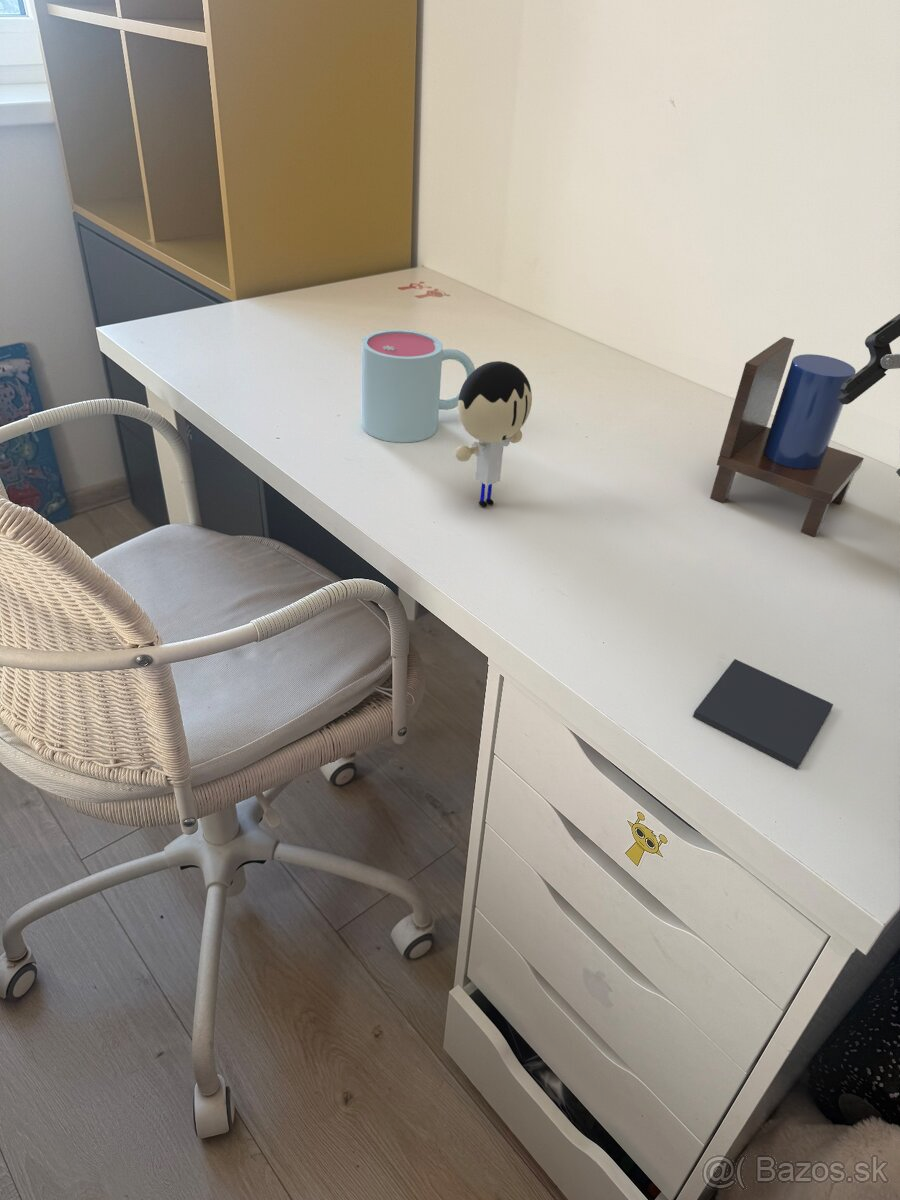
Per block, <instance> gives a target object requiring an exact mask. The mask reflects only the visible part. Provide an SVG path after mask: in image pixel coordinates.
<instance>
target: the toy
mask: <svg viewBox="0 0 900 1200" xmlns="http://www.w3.org/2000/svg"><path fill="white" fill-rule="evenodd" d="M531 387H532V386H531V384H530V382H529V379H528V377H527V376H526V374H525V373H524V372H523V371H522V370H521V369H520V368H519V367H517V366H516V365H514V364H513V363H510V362H507V361H501V360H499V361H489V362H486V363H484V364H482V365H480V366H478V367H477V368H475V370H474V371H473V372H472V373H471V374H470V375H469V376H468V378H467V377H466V379H465V380H464V382H463V383H462V386H461V388H460V391H459V393H460V394H459V393H458V394H459V398H458V406H457V411H458V412H457V413H458V418H459V421H460V423H461V425H462V426H463V428H464V430H465V431H466V432H467V433H468V434H469V435H470V436H471V437H472V438H473V439H476V440H478V441H473V443H471V447H469V446H467V445H464V444H463V445H459V446H458V447H457V448H456V449H455V458H456V459H457V460H458V461H459V462H463V463H464V462H468V461H469V460H470V459H471V457H472V455H474V456H476V468H475V480H476V481H477V482H479V483H481V486H480V498H479V501H478V504H479V506H480V507H482V508H486V507H488V505H489V506H493V505H494V500H493V499H492V490H493V484H495V483H498V482H500V481H501V472H502V464H503V456H504V455H503V454H504V447H508V446H509V445H510V443H512V444H517V443H519V442H520V441H521V440H522V438H523V432H522V430H521V428H522V427H523V426H524V425H525V424H526V422H527V420H528V417H529V415H530V412H531V410H532V403H533V392H532V388H531ZM486 487H487V493H486ZM485 494H486V499H485Z"/></svg>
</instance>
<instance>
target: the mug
mask: <svg viewBox="0 0 900 1200" xmlns="http://www.w3.org/2000/svg"><path fill="white" fill-rule="evenodd" d="M443 347H444V345H443V342H442V341H441V340H439V339H438V338H437V337H435V336H433V335H431V334H428V333H425V332H421V331H416V330H409V329H384V330H378V331H374V332H371V333H369V334H367V335H365V336H364V337H363V338H362V339H361V428H362V429H363V431H364V432H365V433H366V434H367V435H369V436H371V437H373V438H375V439H378V440H381V441H385V442H390V443H400V444H402V443H415V442H416V443H417V442H421V441H425V440H427V439H429V438H431V437H434V436H435V434H436V433H437V432H438V427H439V412H440V410H444V411H448V410H452V409H455V408H458V398H459V394H460V392H459V393H458V394H457V395H455V396H454V397H452V398H449V399H441V398H440V396H441V384H442V383H441V380H442V379H441V378H442V365H443V364H442V363H443V361H447V360H452V361H456V362H459V363H460V364H461V365H462V367H464V370H465V374H466V379H467V378H468V376H469V375H470V374H471V373H472V372H473V371H474V370H475V369H476V368H475V365H474V363H473V361H472V360H471V358H470V356H468V355H467V354H466V353H465V352H463V351H461V350H458V349H455V348H446V349H443Z"/></svg>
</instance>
